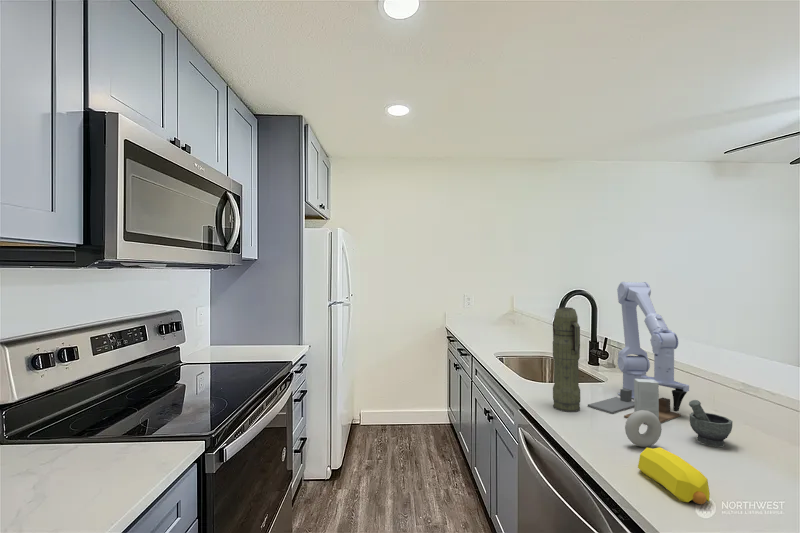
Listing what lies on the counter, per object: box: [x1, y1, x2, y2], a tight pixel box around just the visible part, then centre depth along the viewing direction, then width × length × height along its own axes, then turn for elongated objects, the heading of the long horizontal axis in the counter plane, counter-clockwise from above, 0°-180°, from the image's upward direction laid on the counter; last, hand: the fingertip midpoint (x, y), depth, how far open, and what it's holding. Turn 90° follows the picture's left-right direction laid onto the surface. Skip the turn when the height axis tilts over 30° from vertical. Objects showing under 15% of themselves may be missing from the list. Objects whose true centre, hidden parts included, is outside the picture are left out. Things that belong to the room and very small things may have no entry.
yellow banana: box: [637, 447, 711, 505], centre depth 93 cm, size 18×7×8 cm
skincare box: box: [633, 379, 660, 419], centre depth 135 cm, size 6×4×12 cm
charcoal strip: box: [587, 388, 634, 415], centre depth 149 cm, size 18×9×5 cm, turn 122°
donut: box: [624, 410, 663, 448], centre depth 114 cm, size 10×4×10 cm, turn 96°
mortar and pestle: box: [688, 399, 733, 448], centre depth 117 cm, size 11×9×12 cm
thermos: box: [552, 306, 581, 413], centre depth 146 cm, size 9×12×35 cm
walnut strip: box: [623, 397, 682, 425], centre depth 138 cm, size 18×9×5 cm, turn 122°
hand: (664, 407), depth 142 cm, fingers open, 7 cm apart
